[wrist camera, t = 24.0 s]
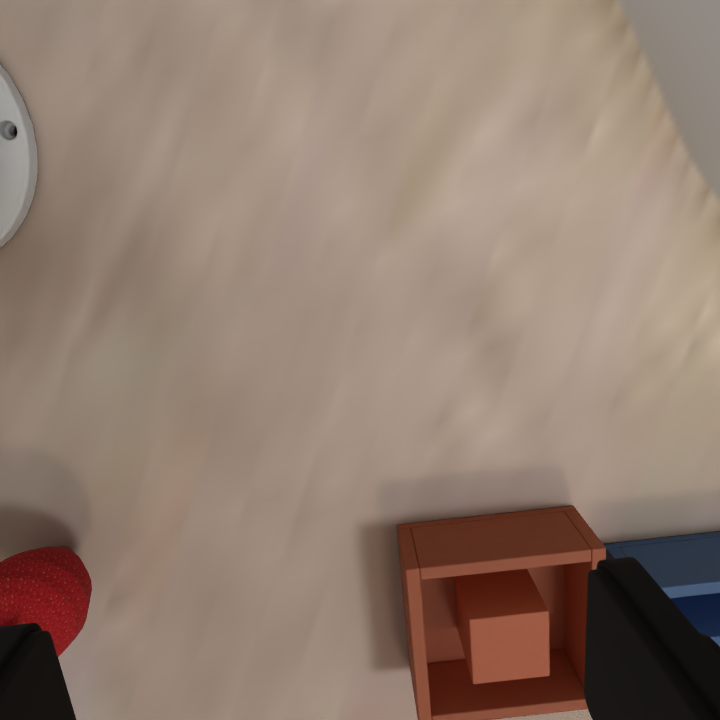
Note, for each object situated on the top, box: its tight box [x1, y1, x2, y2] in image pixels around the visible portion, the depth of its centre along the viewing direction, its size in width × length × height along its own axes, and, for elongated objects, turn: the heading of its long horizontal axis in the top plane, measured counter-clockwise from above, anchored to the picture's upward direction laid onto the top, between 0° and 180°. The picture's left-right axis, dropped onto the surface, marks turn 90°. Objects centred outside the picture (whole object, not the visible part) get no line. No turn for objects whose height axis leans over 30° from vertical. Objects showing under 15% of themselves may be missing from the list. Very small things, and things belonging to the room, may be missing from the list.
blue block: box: [670, 593, 720, 646], centre depth 35 cm, size 4×4×4 cm
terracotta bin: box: [397, 506, 606, 720], centre depth 35 cm, size 11×11×4 cm
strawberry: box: [0, 547, 92, 656], centre depth 30 cm, size 6×8×10 cm
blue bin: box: [603, 532, 720, 598], centre depth 35 cm, size 11×11×4 cm
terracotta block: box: [454, 569, 550, 684], centre depth 34 cm, size 4×4×4 cm
